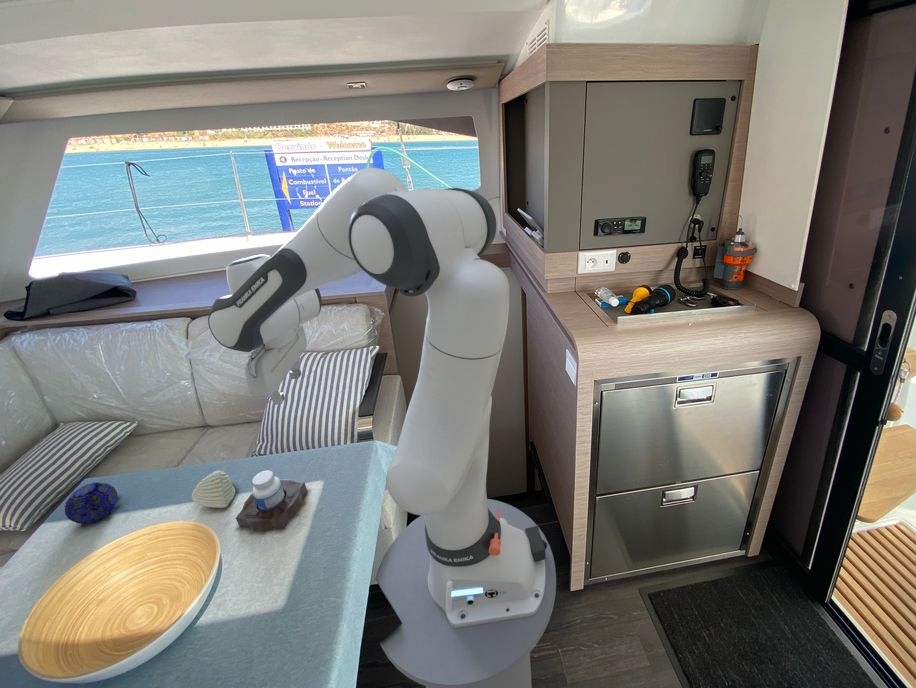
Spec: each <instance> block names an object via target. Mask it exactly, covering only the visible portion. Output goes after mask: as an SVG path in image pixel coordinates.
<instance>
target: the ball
mask: <svg viewBox="0 0 916 688" xmlns="http://www.w3.org/2000/svg"><path fill="white" fill-rule="evenodd" d="M118 496H119V495H118V491H117V489H116V488H115V486H114V485H112V484H109V483H105V482H91V483H88V484H84V485H82V486H81V487H79V488H78V489H76V490H75V491H73V492H72V493H71V495H70V496H69V497H68V498H67V500H66V501H65V505H64V514H65V516H66V518H67V519H68V520H69V521H71V522H74V523H76V524H91V523H94V522H98V521H100V520H101V519H103V518H105V517H106V516H107V515H108V514H110V513H111V512H112V511H113V509H114V508H115V506H116V505H117V503H118Z"/></svg>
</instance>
